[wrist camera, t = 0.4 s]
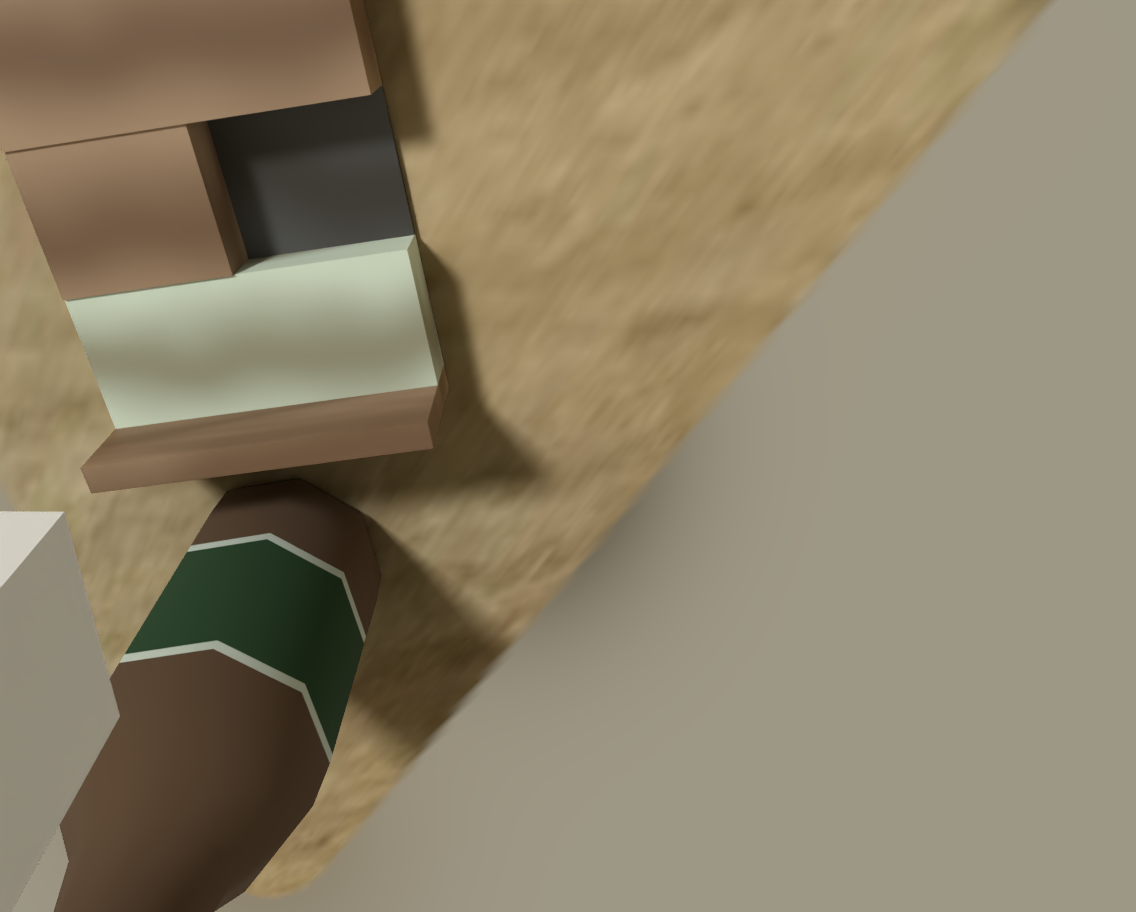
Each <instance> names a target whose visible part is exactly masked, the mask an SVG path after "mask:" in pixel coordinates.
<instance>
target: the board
mask: <svg viewBox="0 0 1136 912" xmlns="http://www.w3.org/2000/svg"><path fill="white" fill-rule="evenodd" d="M0 148H1V151H2V153H3V152H4V153H5V156H6V159H7V161H8V164H9V166H10V169H11V171H12V174H13V176H14V179H15V181H16V184H17V186H18V189H19V191H20V194H21V196H22V199H23V201H24V204H25V206H26V209H27V211H28V214H29V216H30V219H31V221H32V224H33V226H34V229H35V231H36V234H37V236H38V239H39V241H40V244H41V246H42V249H43V251H44V254H45V256H46V259H47V262H48V264H49V267H50V269H51V272H52V274H53V277H54V279H55V282H56V284H57V287H58V289H59V292H60V294H61V297H62V299H63V300H65V303H66V305H67V308H68V310H69V313H70V315H71V318H72V320H73V323H74V325H75V328H76V330H77V333H78V335H79V338H80V340H81V343H82V345H83V348H84V350H85V353H86V355H87V358H88V360H89V363H90V365H91V368H92V370H93V373H94V376H95V378H96V381H97V383H98V386H99V388H100V391H101V393H102V396H103V398H104V401H105V403H106V406H107V408H108V411H109V413H110V416H111V418H112V421H113V423H114V426H115V428H116V429H115V430H114V431H113V433H112V434H111V435H110V436H109V437H108V438H107V439H106V440H105V442H104V443H103V444H102V445H101V446H100V447H99V448H98V449H97V450H96V452H95V453H94V454H93V455H92V456H91V457H90V458H89V459H88V460H87V462H86V463H85V464H84V465H83V466H82V467H81V470H82V473H83V475H84V478H85V480H86V482H87V485H88V487H89V489H90V492H91V493H99V492H106V491H114V490H121V489H129V488H137V487H144V486H152V485H159V484H167V483H175V482H182V481H190V480H198V479H205V478H213V477H220V476H228V475H236V474H243V473H251V472H258V471H266V470H274V469H281V468H289V467H296V466H304V465H312V464H319V463H327V462H334V461H342V460H350V459H357V458H365V457H373V456H380V455H388V454H395V453H403V452H411V451H418V450H426V449H433V448H434V445H435V441H436V437H437V433H438V429H439V425H440V421H441V418H442V414H443V410H444V406H445V402H446V398H447V394H448V391H449V385H448V380H447V376H446V371H445V367H444V362H443V358H442V353H441V349H440V344H439V339H438V335H437V330H436V326H435V321H434V317H433V312H432V308H431V303H430V299H429V294H428V290H427V285H426V281H425V276H424V271H423V267H422V262H421V258H420V253H419V249H418V244H417V240H416V235H415V231H414V226H413V222H412V217H411V212H410V208H409V203H408V199H407V194H406V190H405V185H404V181H403V176H402V172H401V167H400V163H399V158H398V154H397V149H396V144H395V140H394V135H393V131H392V126H391V122H390V117H389V113H388V108H387V104H386V99H385V95H384V90H383V85H382V81H381V76H380V72H379V67H378V63H377V58H376V54H375V49H374V45H373V40H372V36H371V31H370V27H369V22H368V17H367V13H366V8H365V4H364V0H0Z"/></svg>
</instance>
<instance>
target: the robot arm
mask: <svg viewBox="0 0 1136 912" xmlns="http://www.w3.org/2000/svg"><path fill="white" fill-rule="evenodd" d="M119 717H120V714H119V711H118V707H117V703H116V700H115V696H114V692H113V689H112V685H111V681H110V678H109V674H108V670H107V667H106V663H105V659H104V656H103V652H102V648H101V645H100V641H99V637H98V634H97V630H96V626H95V623H94V619H93V615H92V612H91V608H90V604H89V601H88V597H87V593H86V590H85V586H84V582H83V579H82V575H81V571H80V568H79V564H78V560H77V557H76V553H75V549H74V546H73V542H72V538H71V535H70V531H69V527H68V524H67V520H66V516H65V513H64V512H0V912H11V911H12V909H13V908H14V906H15V904H16V902H17V901H18V899H19V897H20V895H21V893H22V892H23V890H24V888H25V886H26V884H27V883H28V881H29V879H30V877H31V875H32V874H33V872H34V870H35V868H36V866H37V865H38V863H39V861H40V859H41V857H42V855H43V854H44V852H45V850H46V848H47V846H48V845H49V843H50V841H51V839H52V837H53V836H54V834H55V832H56V830H57V829H58V827H59V825H60V823H61V821H62V820H63V818H64V816H65V814H66V812H67V811H68V809H69V807H70V805H71V803H72V802H73V800H74V798H75V796H76V794H77V793H78V791H79V789H80V787H81V785H82V784H83V782H84V780H85V778H86V776H87V775H88V773H89V771H90V769H91V767H92V766H93V764H94V762H95V760H96V758H97V757H98V755H99V753H100V751H101V749H102V748H103V746H104V744H105V742H106V740H107V739H108V737H109V735H110V733H111V731H112V730H113V728H114V726H115V724H116V722H117V721H118V719H119Z"/></svg>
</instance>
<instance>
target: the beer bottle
mask: <svg viewBox="0 0 1136 912" xmlns="http://www.w3.org/2000/svg"><path fill="white" fill-rule="evenodd" d="M380 578H381V572H380V569H379V566H378V563H377V560H376V557H375V554H374V551H373V548H372V545H371V542H370V539H369V536H368V533H367V530H366V526H365V523H364V520H363V517H362V515H361V513H360V512H358V511H356V510H354V509H352V508H351V507H349V506H347V505H345V504H343V503H342V502H340V501H338V500H336V499H334V498H333V497H331V496H329V495H327V494H325V493H324V492H322V491H320V490H318V489H316V488H315V487H313V486H311V485H309V484H307V483H306V482H304V481H302V480H300V479H297V480H290V481H284V482H278V483H272V484H266V485H260V486H254V487H248V488H242V489H236V490H231V491H227V492H226V493H225V495H224V496H223V497H222V499H221V500H220V501H219V503H218V504H217V505H216V507H215V508H214V509H213V511H212V512H211V514H210V515H209V517H208V519H207V520H206V522H205V523H204V525H203V527H202V528H201V530H200V532H199V533H198V535H197V537H196V538H195V540H194V542H193V543H192V545H191V546H190V548H189V550H188V551H187V553H186V555H185V556H184V558H183V560H182V561H181V563H180V564H179V566H178V568H177V569H176V571H175V573H174V574H173V576H172V578H171V579H170V581H169V582H168V584H167V586H166V587H165V589H164V591H163V592H162V594H161V596H160V597H159V599H158V601H157V602H156V604H155V605H154V607H153V609H152V610H151V612H150V614H149V615H148V617H147V619H146V620H145V622H144V623H143V625H142V627H141V628H140V630H139V632H138V633H137V635H136V637H135V638H134V640H133V641H132V643H131V645H130V646H129V648H128V650H127V651H126V653H125V655H124V656H123V658H122V659H121V661H120V663H119V664H118V666H117V668H116V669H115V671H114V673H113V674H112V676H111V678H110V681H111V685H112V689H113V692H114V696H115V700H116V703H117V707H118V711H119V714H120V717H119V719H118V721H117V722H116V724H115V726H114V728H113V730H112V731H111V733H110V735H109V737H108V739H107V740H106V742H105V744H104V746H103V748H102V749H101V751H100V753H99V755H98V757H97V758H96V760H95V762H94V764H93V766H92V767H91V769H90V771H89V773H88V775H87V776H86V778H85V780H84V782H83V784H82V785H81V787H80V789H79V791H78V793H77V794H76V796H75V798H74V800H73V802H72V803H71V805H70V807H69V809H68V811H67V812H66V814H65V816H64V818H63V820H62V821H61V823H60V829H61V832H62V836H63V840H64V844H65V848H66V852H67V856H68V860H69V863H68V866H67V869H66V873H65V876H64V880H63V883H62V886H61V889H60V893H59V896H58V899H57V903H56V906H55V909H54V912H214V911H216V910H217V909H219V908H220V907H222V906H223V905H225V904H227V903H228V902H229V901H231V900H233V899H234V898H236V897H237V896H239V895H240V894H242V893H243V892H245V891H246V889H247V888H248V887H249V886H250V884H251V883H252V882H253V881H254V879H255V878H256V877H257V876H258V874H259V873H260V872H261V871H262V870H263V868H264V867H265V866H266V865H267V863H268V862H269V861H270V860H271V858H272V857H273V856H274V855H275V853H276V852H277V851H278V849H279V848H280V847H281V846H282V844H283V843H284V842H285V841H286V839H287V838H288V837H289V836H290V834H291V833H292V832H293V830H294V829H295V828H296V827H297V825H298V824H299V823H300V822H301V820H302V819H303V818H304V817H305V815H306V814H307V813H308V812H309V810H310V809H311V808H312V806H313V804H314V802H315V799H316V797H317V794H318V792H319V789H320V787H321V784H322V782H323V779H324V777H325V774H326V772H327V769H328V767H329V764H330V761H331V757H332V754H333V750H334V747H335V743H336V740H337V736H338V733H339V729H340V726H341V722H342V719H343V715H344V712H345V708H346V705H347V701H348V698H349V694H350V691H351V687H352V684H353V680H354V677H355V673H356V670H357V667H358V663H359V660H360V656H361V653H362V649H363V646H364V642H365V639H366V635H367V632H368V628H369V625H370V621H371V618H372V614H373V611H374V607H375V604H376V600H377V595H378V589H379V584H380Z"/></svg>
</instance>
